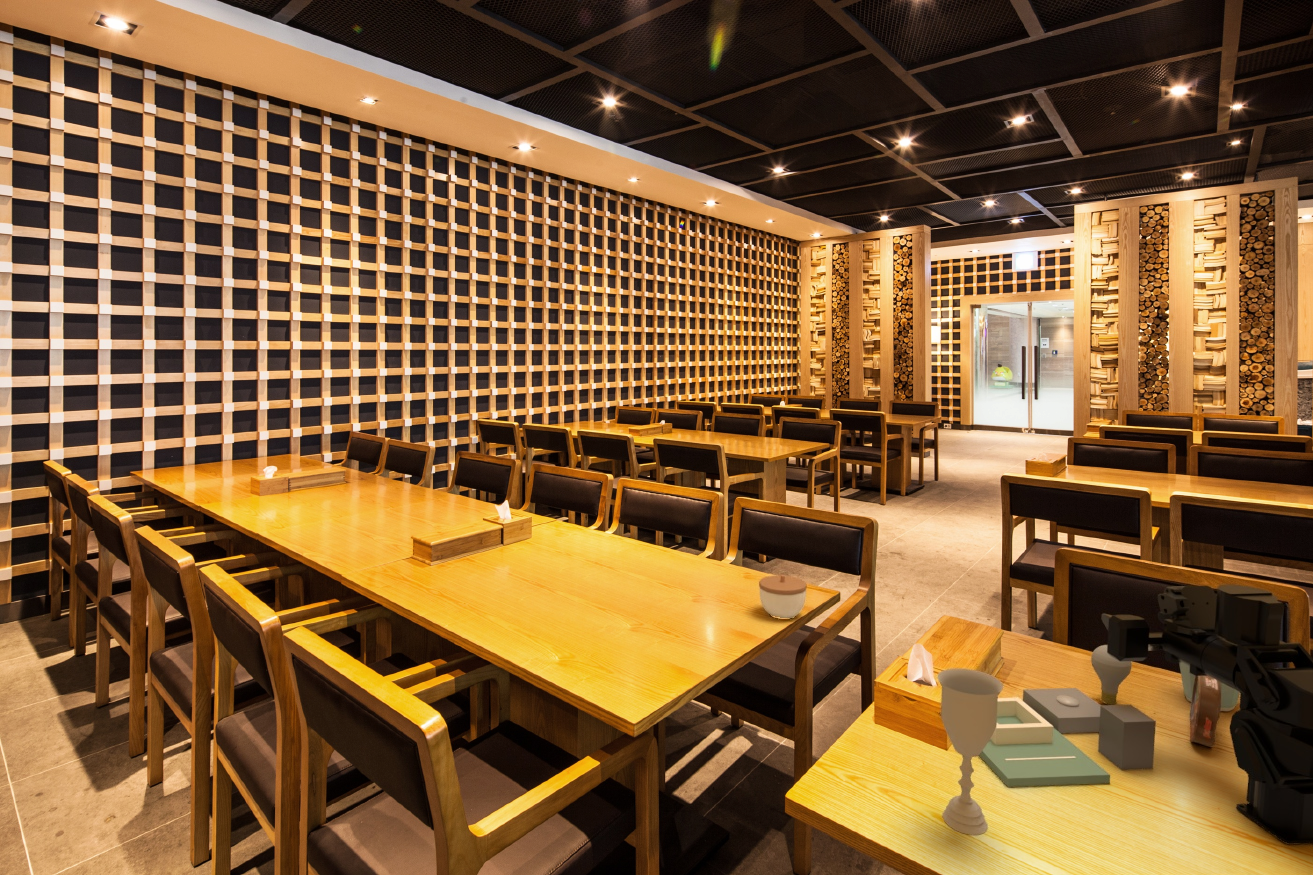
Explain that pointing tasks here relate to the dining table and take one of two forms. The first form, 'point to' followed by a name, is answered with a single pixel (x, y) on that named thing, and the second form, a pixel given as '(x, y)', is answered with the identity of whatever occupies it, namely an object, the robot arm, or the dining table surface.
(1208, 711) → the tin
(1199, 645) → the robot arm
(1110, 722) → the plug
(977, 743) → the chalice
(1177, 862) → the dining table surface
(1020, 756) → the board
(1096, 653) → the light bulb
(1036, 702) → the grey domed button plate
